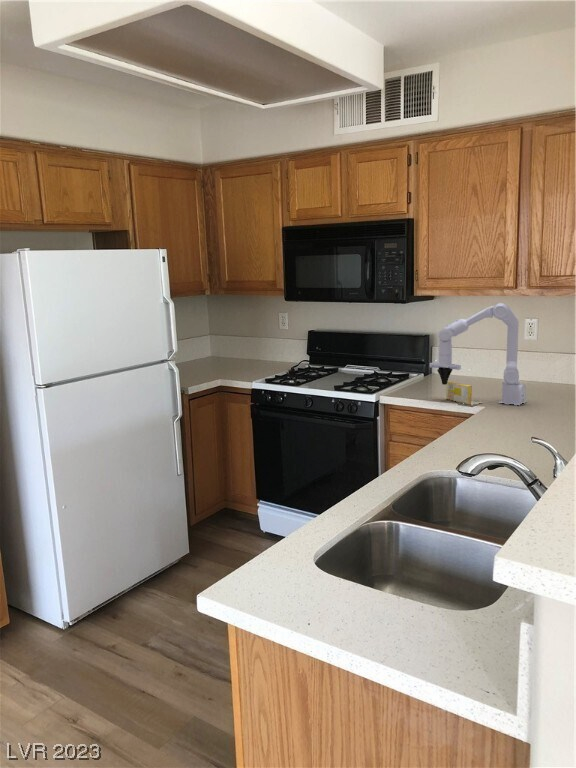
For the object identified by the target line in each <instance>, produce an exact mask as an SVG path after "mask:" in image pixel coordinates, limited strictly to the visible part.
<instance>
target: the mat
mask: <svg viewBox="0 0 576 768" xmlns="http://www.w3.org/2000/svg"><path fill="white" fill-rule="evenodd" d="M457 406H463V407H471V408H473V407H476V406H478V405H477V404H473V405H471V404H469V405H468V404H463V403H460V402H459V403H457Z"/></svg>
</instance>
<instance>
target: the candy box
mask: <svg viewBox="0 0 576 768" xmlns="http://www.w3.org/2000/svg"><path fill="white" fill-rule="evenodd" d="M445 387H446V390H445V391H446V393H445V394H446V395H445V396H446V397H445V399H446V398H447V399H450V400H449V401H451V400H453V401H452V402H455V401H456V403H459V404H460V403H464V404H468V405H469V404H471V401H472V393H473V391H472V390H473V388H472V385H468V384H462V383H458V382H453V381H448V382H447V384H446V386H445ZM447 399H446V400H447Z"/></svg>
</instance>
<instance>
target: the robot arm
mask: <svg viewBox="0 0 576 768" xmlns="http://www.w3.org/2000/svg"><path fill="white" fill-rule="evenodd" d="M486 318H487V319H488V318H491V319H492V318H495V319H498V320H500V321H502V322H503V323H504V324H505V325H506V326H507V335H506V339H507V340H506V358H505V359H506V364H505V369H504V371H503V377H502V378H503V381H502V382H501V400H500V401H498V402H497V403H498V404H500V403H506V404H505V405H509V404H514V405H513V406H517V405H519V406H521V405H520V404H522V403H524V404H526V403H525V402H526V395H527V394H526V391H527V389H526V385H525V384H522V383H521V381H519V379H520V373H519V370H518V349H519V348H518V346H519V345H518V344H519V326H520V325H519V324H520V323H519V322H520V321H519V319H518V317H517V316H516V315H515V313H514V311H513V310H512V309H511V307H509V306H508V305H507V304H506V303H503V302H499V303H497V304H495V305H492V306H488V307H486V308H484V309H482V310H480V311H479V312H477V313H475V314H474V315H472V316H469V317H468V318H466V319H464V318H460V319H459V318H457V319H455V322H453V323H450V324H447V325H446V327H443V328H442V329H440V330H439V331H438V339H439V340H438V343H439V344H438V362H430V363H429V368H437V371H436V372H437V373H438V374H439V376H440V380H441V385H446V384H447V382H449V378H450V375H451V373H452V372H453V370H456V371H461V369H462V368H461V367H462V365H460V364H455V363H452V361H453V360H452V359H453V356H452V354H453V352H452V351H453V344H452V338H453V337H454V338H455V337H458V336H459V335H461V334H463V333H465V332H466V331H468V330H469V327H470V326H471V325H474V324H475V323H477V322H480V321H482V320H484V319H486ZM522 405H523V404H522Z"/></svg>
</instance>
